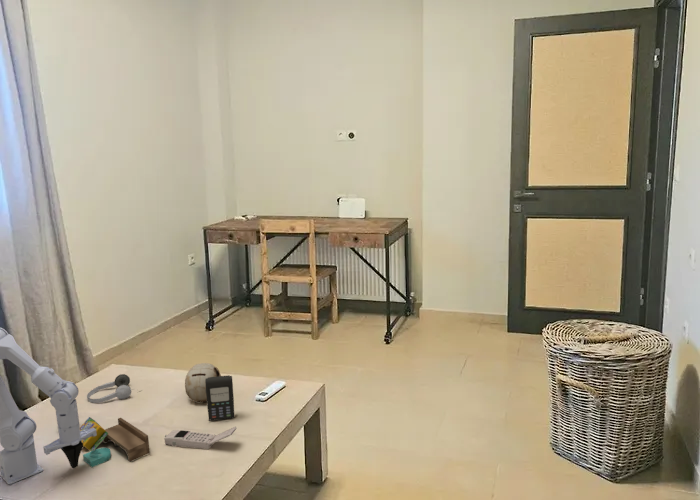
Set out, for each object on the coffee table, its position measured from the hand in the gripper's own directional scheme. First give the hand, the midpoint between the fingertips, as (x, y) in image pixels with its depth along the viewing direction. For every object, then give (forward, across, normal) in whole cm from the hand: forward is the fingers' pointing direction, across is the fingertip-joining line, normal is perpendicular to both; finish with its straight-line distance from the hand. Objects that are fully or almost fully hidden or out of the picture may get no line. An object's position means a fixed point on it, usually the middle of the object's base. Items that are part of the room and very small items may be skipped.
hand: (74, 466), depth 176 cm
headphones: (+2, +32, +40) cm, 51 cm away
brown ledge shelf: (+1, +16, 0) cm, 16 cm away
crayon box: (-2, +10, +17) cm, 20 cm away
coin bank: (+1, +55, +14) cm, 56 cm away
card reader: (+1, +48, -7) cm, 48 cm away
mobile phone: (+2, +33, -16) cm, 36 cm away
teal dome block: (+1, +8, 0) cm, 8 cm away
